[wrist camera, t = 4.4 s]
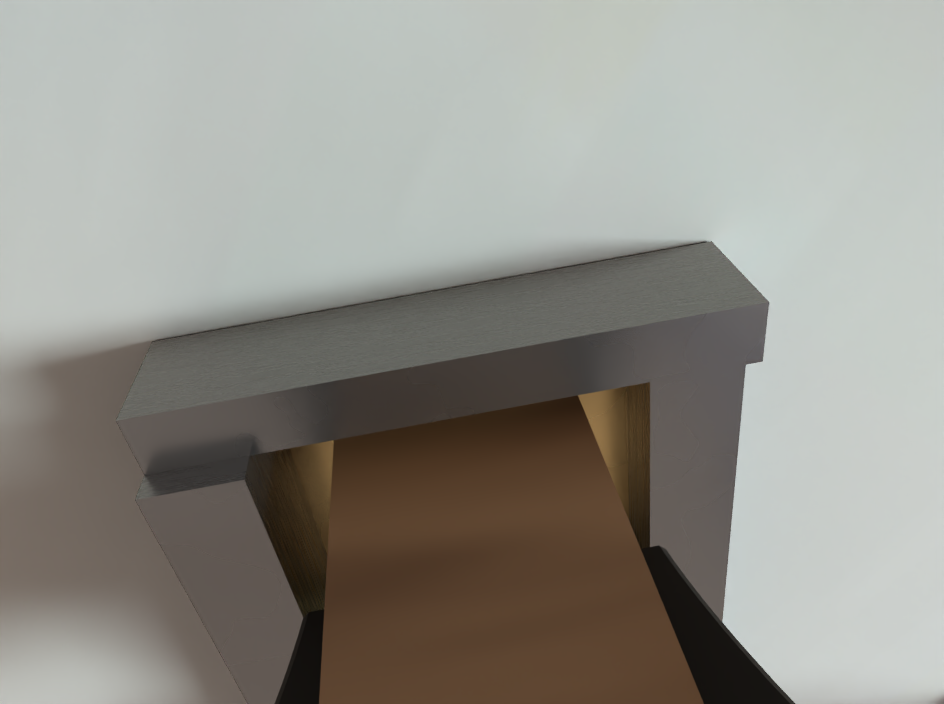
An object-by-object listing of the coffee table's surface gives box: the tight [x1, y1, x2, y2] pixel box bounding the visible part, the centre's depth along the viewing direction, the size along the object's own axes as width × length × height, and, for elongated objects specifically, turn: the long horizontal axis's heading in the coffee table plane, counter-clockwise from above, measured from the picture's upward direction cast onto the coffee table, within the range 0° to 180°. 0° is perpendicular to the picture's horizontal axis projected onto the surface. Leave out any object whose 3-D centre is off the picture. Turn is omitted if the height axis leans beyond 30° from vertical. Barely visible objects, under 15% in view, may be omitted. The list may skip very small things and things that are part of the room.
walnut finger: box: [319, 395, 704, 704], centre depth 11 cm, size 5×4×6 cm
